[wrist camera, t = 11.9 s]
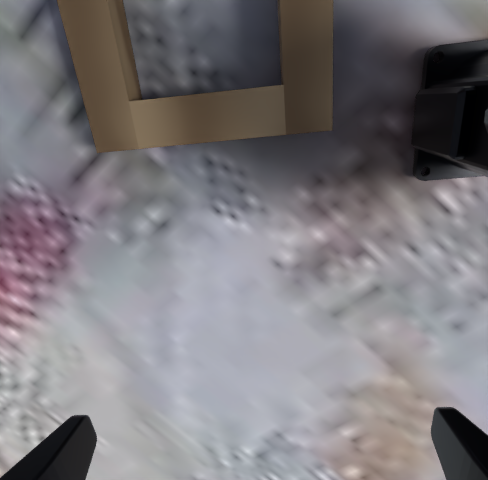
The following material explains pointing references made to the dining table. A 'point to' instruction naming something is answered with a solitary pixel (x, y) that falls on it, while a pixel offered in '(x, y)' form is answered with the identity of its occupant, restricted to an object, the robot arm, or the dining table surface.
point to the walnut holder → (206, 104)
